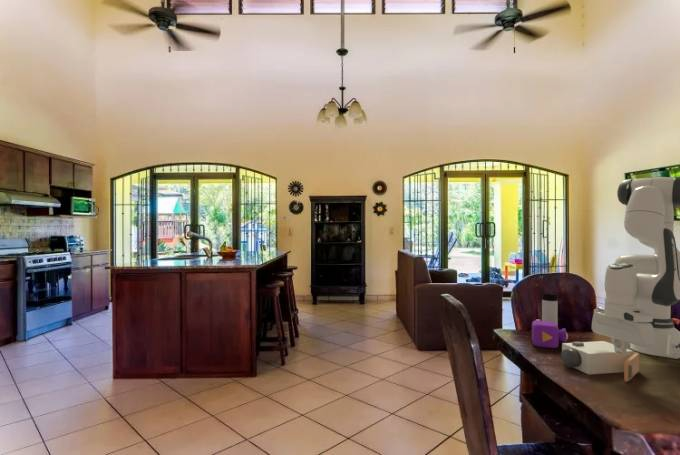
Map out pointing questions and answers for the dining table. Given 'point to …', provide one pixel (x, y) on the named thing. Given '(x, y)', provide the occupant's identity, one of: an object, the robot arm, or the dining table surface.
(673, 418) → the dining table surface
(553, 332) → the toy camera
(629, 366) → the side door
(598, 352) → the white projector
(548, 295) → the travel mug
